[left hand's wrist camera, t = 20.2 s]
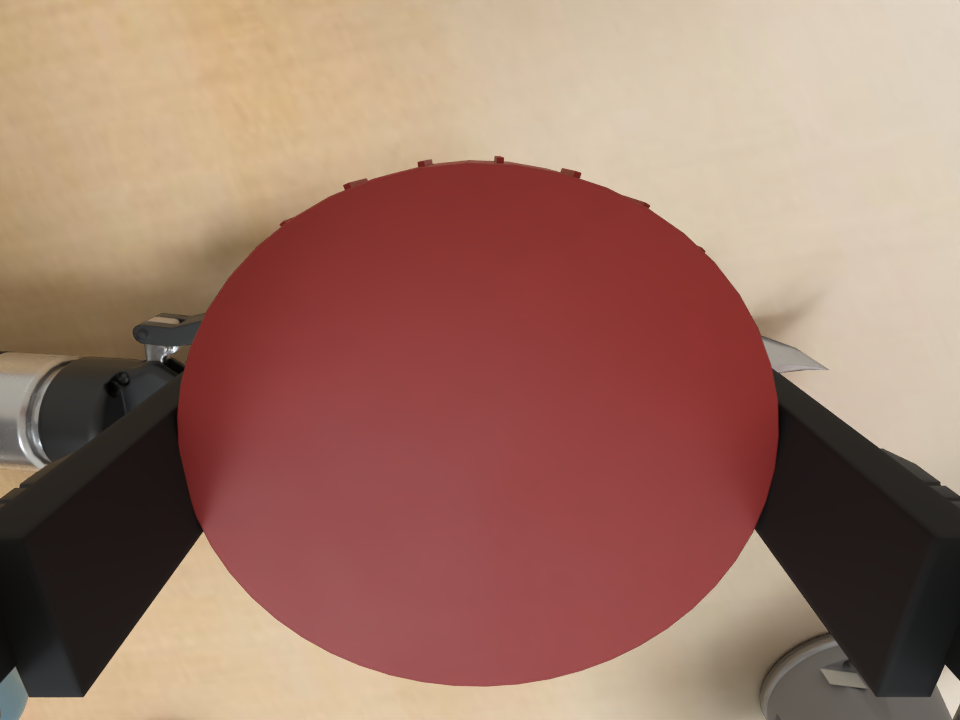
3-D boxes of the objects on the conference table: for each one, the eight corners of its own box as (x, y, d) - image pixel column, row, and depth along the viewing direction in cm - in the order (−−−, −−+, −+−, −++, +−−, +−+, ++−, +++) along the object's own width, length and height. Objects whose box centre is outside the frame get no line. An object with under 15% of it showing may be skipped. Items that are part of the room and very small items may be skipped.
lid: (524, 675, 15) (531, 754, 13) (141, 473, 12) (80, 533, 10) (841, 372, 11) (915, 417, 10) (403, 18, 9) (382, -19, 7)
